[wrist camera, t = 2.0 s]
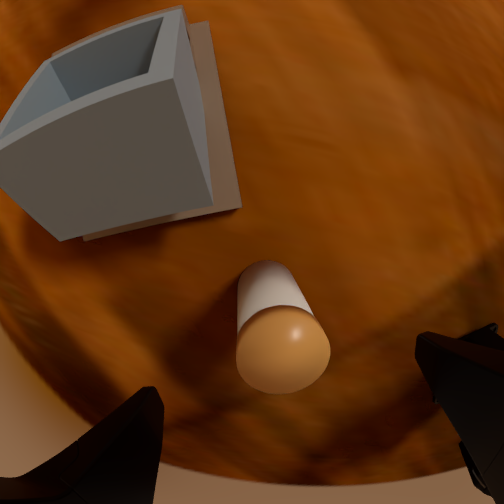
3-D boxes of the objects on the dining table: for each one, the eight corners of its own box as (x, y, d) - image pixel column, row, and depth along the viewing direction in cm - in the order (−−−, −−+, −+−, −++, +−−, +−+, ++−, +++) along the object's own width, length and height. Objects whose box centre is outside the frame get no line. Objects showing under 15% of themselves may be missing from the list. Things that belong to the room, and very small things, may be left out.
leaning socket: (242, 205, 15) (246, 240, 7) (90, 238, 15) (-12, 291, 7) (209, 27, 13) (189, -77, 4) (68, 73, 13) (-25, 28, 4)
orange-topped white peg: (298, 308, 17) (331, 383, 10) (242, 318, 17) (245, 400, 10) (291, 254, 16) (327, 308, 9) (231, 265, 16) (227, 327, 9)
